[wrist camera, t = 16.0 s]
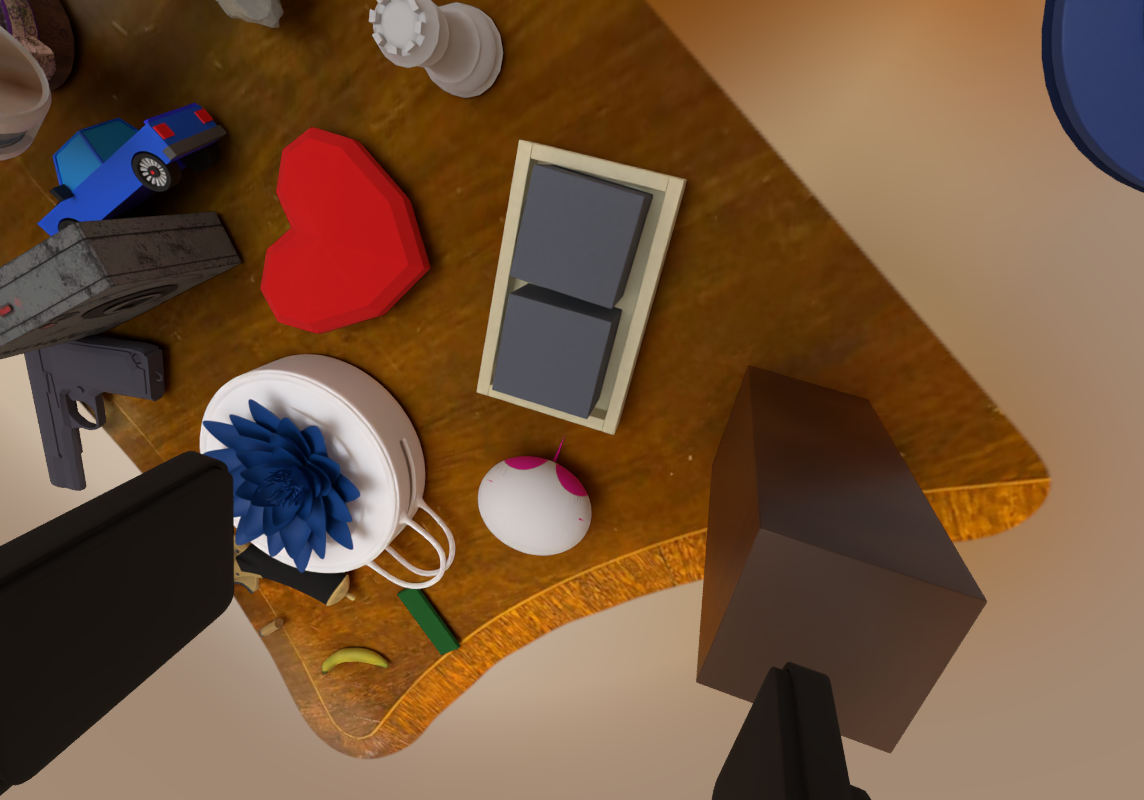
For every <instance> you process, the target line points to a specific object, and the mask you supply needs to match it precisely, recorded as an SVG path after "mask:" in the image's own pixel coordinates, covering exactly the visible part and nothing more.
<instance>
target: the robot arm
mask: <svg viewBox="0 0 1144 800" xmlns="http://www.w3.org/2000/svg"><path fill="white" fill-rule="evenodd" d="M233 595H234V503H233V477H232V475H231V474H230V473H229V472H228V467H227V465H226V464H225V463H224V462H222V461H220V460H218V459H215V458H212V457H209V456H206V455H203V454H201V453H198V452H195V451H188V452H185V453H182V454H180V455H178V456H176V457H174V458H172V459H170V460H168V461H166V462H164V463H162V464H160V465H159V466H157V467H155V468H153V469H151V470H149V471H147V472H145V473H143V474H141V475H139V476H137V477H135V478H133V479H131V480H129V481H127V482H125V483H123V484H121V485H119V486H117V487H115V488H114V489H111V490H110V491H108V492H106V493H104V494H102V495H100V496H98V497H96V498H94V499H92V500H90V501H88V502H86V503H84V504H82V505H80V506H78V507H76V508H74V509H72V510H70V511H68V512H66V513H65V514H62V515H60V516H59V517H57V518H55V519H53V520H51V521H49V522H47V523H45V524H43V525H41V526H39V527H37V528H35V529H33V530H31V531H29V532H27V533H25V534H23V535H21V536H19V537H17V538H16V539H13V540H12V541H9V542H8V543H6V544H4V545H2V546H0V795H2V794H3V793H4V792H5V791H7V790H8V789H9V788H10V787H11V786H12V785H19V784H22V783H24V782H26V781H28V780H29V779H31V778H32V777H33V776H35V775H36V774H37V773H38V772H39V771H41V770H42V769H43V768H44V767H45V766H46V765H48V764H49V763H50V762H51V761H52V760H53V759H55V758H56V757H57V756H58V755H59V754H60V753H62V752H63V751H64V750H65V749H66V748H67V747H68V746H69V745H71V744H72V743H73V742H74V741H75V740H77V739H78V738H79V737H80V736H81V735H82V734H83V733H85V732H86V731H87V730H88V729H89V728H90V727H92V726H93V725H94V724H95V723H96V722H97V721H99V720H100V719H101V718H102V717H103V716H104V715H106V714H107V713H108V712H109V711H110V710H111V709H112V708H113V707H115V706H116V705H117V704H118V703H119V702H120V701H122V700H123V699H124V698H125V697H126V696H128V695H129V694H130V693H131V692H132V691H133V690H134V689H136V688H137V687H138V686H139V685H140V684H141V683H143V682H144V681H145V680H146V679H147V678H148V677H149V676H151V675H152V674H153V673H154V672H155V671H156V670H157V669H159V668H160V667H161V666H162V665H163V664H165V663H166V662H167V661H168V660H169V659H170V658H172V656H174V655H175V654H176V653H177V652H179V651H180V650H181V649H182V648H183V647H184V646H185V645H186V644H188V643H189V642H190V641H191V640H192V639H194V638H195V637H196V636H197V635H198V634H199V633H201V632H202V631H203V630H204V629H205V628H206V627H207V626H208V625H210V624H211V623H212V622H213V621H214V620H216V619H217V618H218V617H219V616H220V615H221V614H222V613H223V612H224V611H225V610H226V609H227V607H228V606H229V605H230V603H231V601H232V598H233ZM712 800H871V799H870V797H869V796H868V794H867V793H866V791H864V790H862V789H860V788H858V787H855V786H852V785H850V782H849V777H848V771H847V766H846V761H845V755H844V750H843V745H842V739H841V734H840V729H839V724H838V718H837V713H836V708H835V702H834V697H833V692H832V687H831V682H830V679H829V677H828V676H827V675H826V674H823V673H820V672H817V671H814V670H812V669H809V668H806V667H803V666H800V665H798V664H795V663H792V662H787V663H786V664H785V665H784V667H783V668H782V669H779V668H776V667H772V668H770V670H769V672H768V673H767V675H766V678H765V680H764V682H763V684H762V686H761V688H760V690H759V692H758V694H757V696H756V699H755V701H754V703H753V705H752V707H751V709H750V711H749V713H748V716H747V718H746V719H745V722H744V724H743V726H742V728H741V730H740V732H739V734H738V736H737V738H736V740H735V743H734V745H733V747H732V749H731V751H730V753H729V755H728V757H727V759H726V761H725V763H724V766H723V768H722V770H721V772H720V774H719V776H718V778H717V781H716V783H715V787H714V790H713V796H712Z"/></svg>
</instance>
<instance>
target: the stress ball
mask: <svg viewBox="0 0 1144 800" xmlns="http://www.w3.org/2000/svg"><path fill="white" fill-rule="evenodd" d="M564 437H565V436H564ZM563 440H564V438H563ZM563 440H562V443H563ZM562 443H561V445H560V447H559V449H558V451H557V453H556V455H555V457H554V460H553V461H550V460H547V459H544V458H540V457H533V456H519V457H513V458H509V459H506V460H504V461H502V462H500V463H498V464H497V465H495V466H494V467H493V468H491V469H490V470H489V471H488V472H487V474H486V475H485V476H484V478H483V480H482V482H481V485H480V487H479V492H478V505H479V510H480V513H481V516H482V518H483V520H484V522H485V524H486V525H487V527H488V528H489V530H490V531H491V532H492V533H493V534H494V535H495V536H496V537H497V538H498V539H499V540H501V541H502V542H503V543H505V544H506V545H508V546H510V547H512V548H514V549H516V550H518V551H521V552H524V553H528V554H533V555H554V554H558V553H562V552H564V551H567V550H569V549H571V548H572V547H574V546H575V545H576V544H578V543H579V542H580V541H581V540H582V539H583V537H584V536H585V534H586V533H587V531H588V529H589V526H590V522H591V504H590V500H589V497H588V495H587V492H586V490H585V489H584V487H583V485H582V484H581V483H580V481H579V480H578V479H577V478H576V477H575V476H574V475H573V474H572V473H571V472H569V471H568V470H567V469H565V468H564V467H562V466H561V465H559V464H557V463H556V460H557V457H558V454H559V451H560V449H561V446H562Z"/></svg>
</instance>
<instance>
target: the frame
mask: <svg viewBox="0 0 1144 800" xmlns="http://www.w3.org/2000/svg"><path fill="white" fill-rule="evenodd" d="M534 164H547V165H556V166H559V167H563V168H566V169H569V170H573V171H576V172H580V173H583V174H586V175H590V176H593V177H596V178H600V179H603V180H607V181H610V182H613V183H617V184H620V185H623V186H627V187H630V188H634V189H637V190H640V191H644V192H647V193H650V194H653V198H652V201H651V205H650V208H649V211H648V214H647V218H646V221H645V224H644V228H643V231H642V234H641V238H640V241H639V244H638V248H637V251H636V254H635V258H634V261H633V264H632V268H631V271H630V274H629V278H628V281H627V284H626V288H625V291H624V294H623V297H622V298H621V299H620V300H619V301H618V302H617V304H616V305H615V306H614V307H616V308H619V309H622V313H621V317H620V321H619V325H618V329H617V333H616V337H615V340H614V344H613V348H612V352H611V356H610V360H609V364H608V367H607V371H606V375H605V379H604V383H603V387H602V390H601V394H600V398H599V400H598V402H597V404H596V405H595V407H594V409H593V410H592V412H591V414H590V415H589V417H588V419H584V418H581V417H578V416H574V415H571V414H568V413H565V412H562V411H558V410H555V409H552V408H549V407H545V406H542V405H539V404H536V403H533V402H529V401H526V400H523V399H520V398H517V397H513V396H510V395H507V394H504V393H500V392H497V391H494V390H492V387H493V381H494V376H495V370H496V364H497V359H498V353H499V348H500V342H501V337H502V331H503V326H504V320H505V315H506V309H507V303H508V298H509V294H510V293H511V292H513V291H515V290H517V289H519V288H521V287H522V286H524V285H526V284H528V283H529V282H526V281H523V280H520V279H517V278H514V277H511V276H510V272H511V267H512V263H513V258H514V254H515V249H516V244H517V240H518V235H519V231H520V226H521V222H522V217H523V212H524V208H525V203H526V199H527V194H528V190H529V185H530V180H531V176H532V171H533V167H534ZM686 182H687V180H686V179H683V178H679V177H675V176H670V175H666V174H662V173H658V172H654V171H650V170H646V169H642V168H638V167H634V166H630V165H625V164H621V163H617V162H613V161H609V160H605V159H601V158H597V157H593V156H589V155H585V154H580V153H576V152H572V151H568V150H564V149H560V148H556V147H552V146H548V145H544V144H540V143H536V142H531V141H525V140H519V144H518V150H517V156H516V162H515V168H514V174H513V180H512V186H511V192H510V198H509V203H508V209H507V215H506V221H505V227H504V233H503V239H502V245H501V251H500V257H499V262H498V268H497V274H496V280H495V286H494V292H493V298H492V304H491V310H490V316H489V321H488V327H487V333H486V339H485V345H484V351H483V357H482V363H481V369H480V375H479V380H478V386H477V392H478V393H481V394H484V395H488V396H491V397H494V398H497V399H500V400H503V401H507V402H510V403H513V404H516V405H519V406H523V407H526V408H529V409H532V410H535V411H539V412H542V413H545V414H548V415H551V416H555V417H558V418H561V419H564V420H567V421H571V422H574V423H577V424H580V425H583V426H587V427H590V428H593V429H596V430H599V431H602V432H605V433H609V434H612V435H614V434H615V431H616V429H617V427H618V425H619V422H620V419H621V415H622V412H623V408H624V404H625V401H626V397H627V394H628V390H629V386H630V383H631V379H632V376H633V372H634V369H635V365H636V361H637V358H638V354H639V351H640V347H641V343H642V340H643V336H644V333H645V329H646V326H647V322H648V318H649V315H650V311H651V308H652V304H653V301H654V297H655V293H656V290H657V286H658V283H659V279H660V275H661V272H662V268H663V265H664V261H665V258H666V254H667V250H668V247H669V243H670V240H671V236H672V232H673V229H674V225H675V222H676V218H677V215H678V211H679V207H680V204H681V200H682V197H683V193H684V190H685V186H686ZM530 284H532V283H530ZM534 285H535V284H534ZM537 286H538V285H537Z"/></svg>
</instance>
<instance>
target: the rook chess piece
mask: <svg viewBox="0 0 1144 800" xmlns="http://www.w3.org/2000/svg"><path fill="white" fill-rule="evenodd" d="M377 1H378V4H377V6H376V8H375V11H373V10H371V9H370V16H369V22H370V23H373V29H374V34H372V36H373V37H374V39H375V41H376V42H377V44H378V46H379V47H380V49H381V51H382V52H383V54H384V56H385V57H387V58H388V59H389V60H390V61H392V62H393V63H394V64H395V65H399V66H403V67H407V68H409V67H414V66H419V67H424V68H425V70H426V71H427V73H428V75H429V77H430V78H431V80H432V81H433V82H434V83H435V84H437V85H438V86H439V87H440V88H442V89H443V90H444V91H446V92H449V93H450V94H452V95H456V96H460V97H464V98H468V97H472V96H477V95H480V94H482V93H483V92H484V91H485V90H487V89H488V88H489V87H490V86H492V84H493V83H494V81H495V79H496V77H497V75H498V74H499V72H500V69H501V63H502V57H503V49H502V43H501V37H500V33H499V32H498V30H497V28H496V26H495V24H494V23H493V21H492V19H491V18H490V17H488V16H487V15H486V14H485V13H484V12H482V11H481V10H480V9H478V8H474V7H472V6H470V5H466V4H462V3H457V2H456V3H452V4H448V5H444V6H440V7H438V6H437V5H435V4H434V3H433V2H432V1H431V0H377Z"/></svg>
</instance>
